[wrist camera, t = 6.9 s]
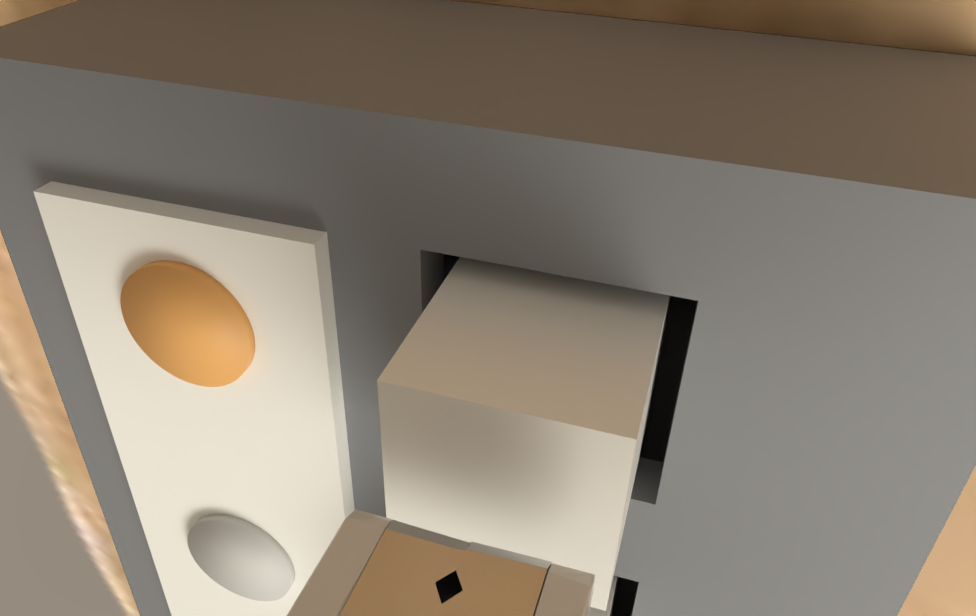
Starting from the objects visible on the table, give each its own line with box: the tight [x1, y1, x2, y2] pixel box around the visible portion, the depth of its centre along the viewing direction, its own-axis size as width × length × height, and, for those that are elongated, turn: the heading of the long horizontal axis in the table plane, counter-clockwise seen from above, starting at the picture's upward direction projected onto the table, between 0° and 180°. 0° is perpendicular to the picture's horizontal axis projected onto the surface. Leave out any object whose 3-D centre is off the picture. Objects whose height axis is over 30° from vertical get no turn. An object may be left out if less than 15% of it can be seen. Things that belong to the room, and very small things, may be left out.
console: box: [0, 0, 976, 616], centre depth 18 cm, size 20×16×7 cm
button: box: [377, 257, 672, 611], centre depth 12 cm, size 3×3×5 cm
